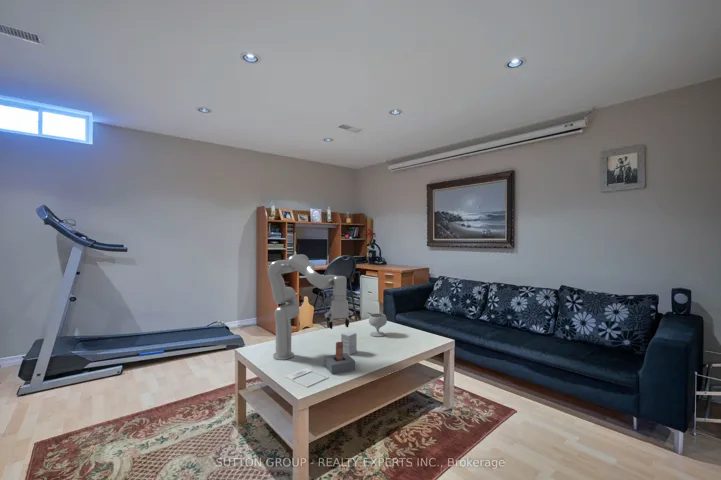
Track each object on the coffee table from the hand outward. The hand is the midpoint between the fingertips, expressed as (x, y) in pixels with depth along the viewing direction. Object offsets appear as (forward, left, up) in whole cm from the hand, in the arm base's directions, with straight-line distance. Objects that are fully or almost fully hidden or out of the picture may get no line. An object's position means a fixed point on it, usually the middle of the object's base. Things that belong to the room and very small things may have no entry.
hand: (338, 327), depth 180 cm
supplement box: (-20, +14, -23) cm, 33 cm away
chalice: (-47, +49, -23) cm, 72 cm away
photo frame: (+6, -20, -23) cm, 31 cm away
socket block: (0, 0, -23) cm, 23 cm away
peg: (0, 0, -23) cm, 23 cm away
